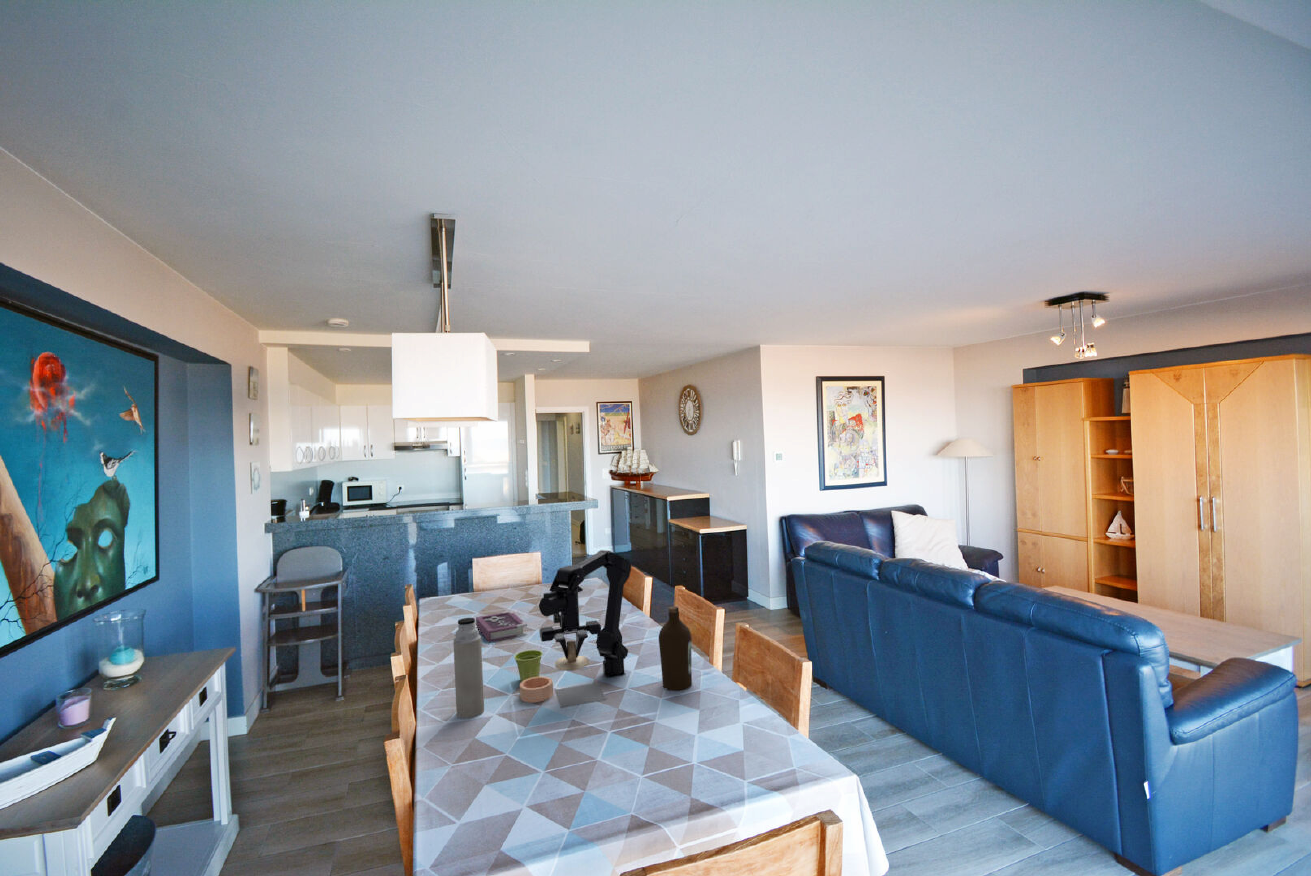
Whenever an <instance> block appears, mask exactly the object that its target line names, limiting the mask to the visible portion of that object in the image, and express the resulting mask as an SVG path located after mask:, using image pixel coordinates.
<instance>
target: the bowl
mask: <svg viewBox="0 0 1311 876" xmlns="http://www.w3.org/2000/svg"><path fill="white" fill-rule="evenodd" d="M519 694H520V696H519V697H520V701H523V702H525V703H532V704H533V703H538V702H539V703H540V702H543V701H546V700H549V699H550V698H551V697H553V695H554V683H553V679H552V678H551V677H548V676H539V677H533V678H529V679H526V680H524V681H520V683H519Z"/></svg>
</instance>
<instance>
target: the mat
mask: <svg viewBox="0 0 1311 876" xmlns="http://www.w3.org/2000/svg"><path fill="white" fill-rule="evenodd" d="M554 691H555V694H556V697H557V701H558V703H559V706H560V708H561V709H562V708H567V707H573V706H574V707H575V706H579V705H584V704H585V705H586V704H590V703H596V702H601V701H606V700H608V699H607V698H606V696H605V694H604V691H603V690H602V688H601V685H599V682H593V683H587V684H586V683H585V684H581V685H574V686H569V687H564V688H559V689H554Z"/></svg>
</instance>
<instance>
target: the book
mask: <svg viewBox="0 0 1311 876" xmlns="http://www.w3.org/2000/svg"><path fill="white" fill-rule="evenodd" d="M476 626H477V627H476ZM475 627H476V628H478V629H479V630H480V631H479V630H478V631H479V632H480V633H481V632H482V633H481V634H483V635H484V636H483V635H482V636H483V637H484V638H485V639H486V641H487V642H488V641H489V642H488V643H492V642H491V641H493V642H498V641H503V640H509V639H512V638H513V637H514V638H518V637H523V636H527V635H528V634H527V633H526V631H524V628H526V627H528V623H527V622H526V621H524V620H523V619H521V618H520V617H519V616H518V615H517V614H515V612H514V611H513V610H509V611H502V612H500V613H493V614H488V615H482V616H477V617H476V616H475ZM508 638H509V639H508Z"/></svg>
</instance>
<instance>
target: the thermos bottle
mask: <svg viewBox="0 0 1311 876" xmlns="http://www.w3.org/2000/svg"><path fill="white" fill-rule="evenodd" d="M457 624H458V625H457V627H458V629H457V630H456V631H455V635H454V637H455V638H454V639H453V660H454V661H453V663H454V686H455V687H454V688H455V706H456V707H455V708H456V710H455V712H456V717H458V718H459V719H471V718H475V717H478V716H480V715H482V714H483V713H484V711H485V700H484V699H485V695H484V694H485V693H484V676H483V653H482V636H481V635H480V633H479V632H480V631H479V630H478V628H477V627H476V618H475V617H464V618H460V619H458V621H457Z"/></svg>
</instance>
